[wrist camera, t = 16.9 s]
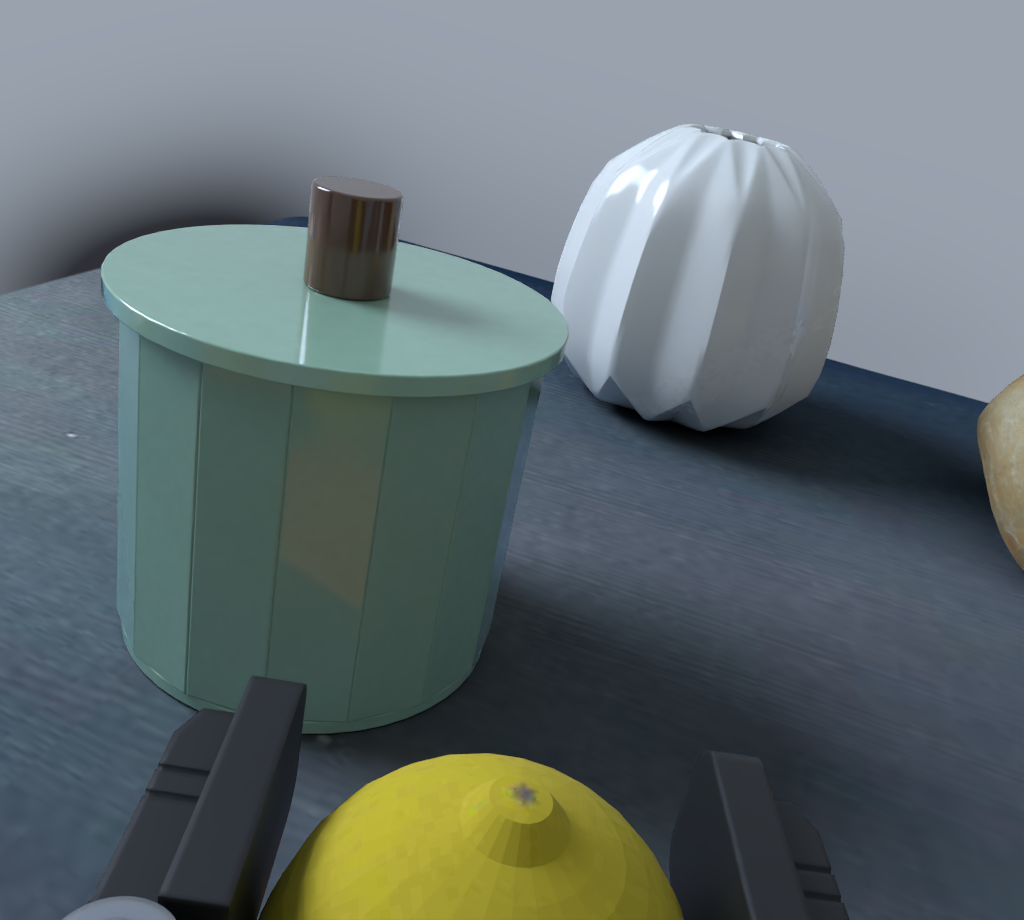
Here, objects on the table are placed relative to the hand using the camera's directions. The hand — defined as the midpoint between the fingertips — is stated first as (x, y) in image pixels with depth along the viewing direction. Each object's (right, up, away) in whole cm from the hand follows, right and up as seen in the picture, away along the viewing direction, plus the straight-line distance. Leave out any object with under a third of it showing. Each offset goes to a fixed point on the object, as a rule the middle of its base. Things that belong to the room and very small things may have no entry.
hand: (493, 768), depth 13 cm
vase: (+8, +7, +37) cm, 39 cm away
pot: (-6, 0, +15) cm, 16 cm away
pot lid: (-4, +8, +11) cm, 14 cm away
